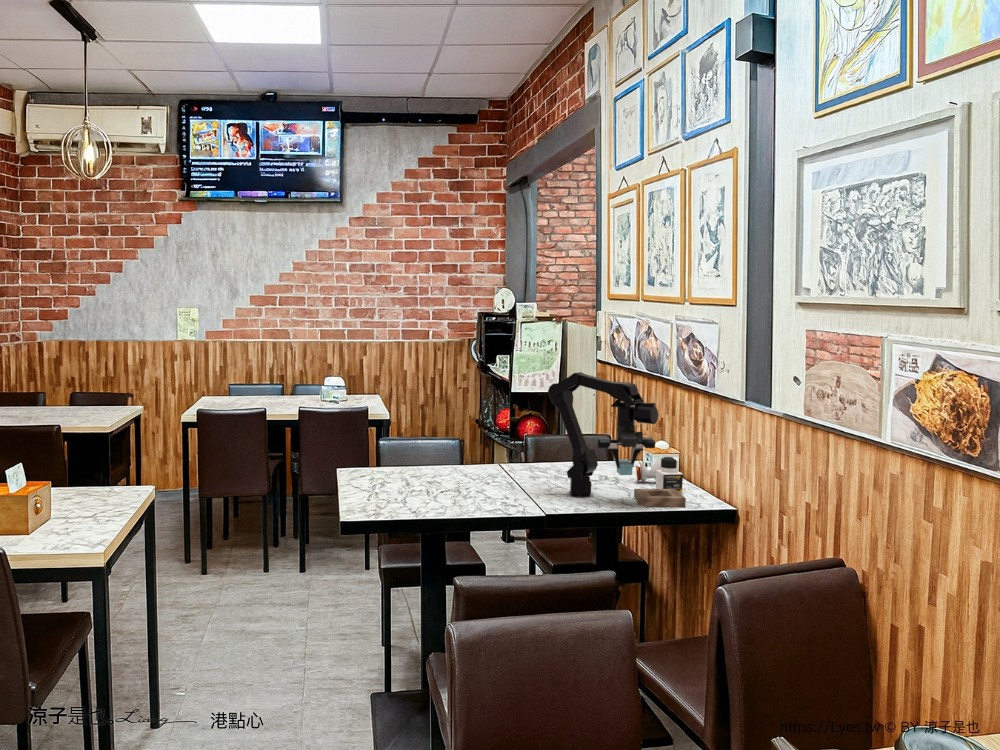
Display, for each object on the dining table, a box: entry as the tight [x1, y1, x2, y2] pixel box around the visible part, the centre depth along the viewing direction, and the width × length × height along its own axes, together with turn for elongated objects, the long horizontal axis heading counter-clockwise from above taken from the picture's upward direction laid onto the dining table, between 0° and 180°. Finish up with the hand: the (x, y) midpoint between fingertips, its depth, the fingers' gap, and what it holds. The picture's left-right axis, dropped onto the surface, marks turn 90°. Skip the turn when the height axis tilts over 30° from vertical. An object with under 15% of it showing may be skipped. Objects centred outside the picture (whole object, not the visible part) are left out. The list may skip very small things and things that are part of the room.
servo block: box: [616, 458, 635, 476], centre depth 300 cm, size 4×11×4 cm, turn 2°
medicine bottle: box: [655, 456, 684, 495], centre depth 317 cm, size 7×7×12 cm
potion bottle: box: [635, 457, 679, 483], centre depth 332 cm, size 9×10×15 cm
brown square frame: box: [633, 488, 687, 508], centre depth 301 cm, size 14×14×3 cm
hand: (624, 468), depth 300 cm, fingers closed on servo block, 4 cm apart
